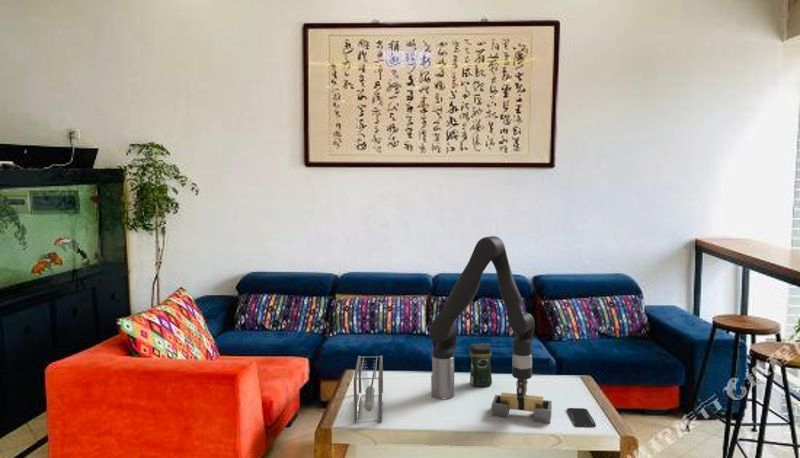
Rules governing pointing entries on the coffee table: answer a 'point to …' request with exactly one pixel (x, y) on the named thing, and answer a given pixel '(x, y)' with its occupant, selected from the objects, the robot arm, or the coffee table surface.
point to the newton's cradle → (369, 390)
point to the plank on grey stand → (539, 414)
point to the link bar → (529, 401)
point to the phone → (581, 417)
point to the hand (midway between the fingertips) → (521, 407)
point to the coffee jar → (480, 365)
